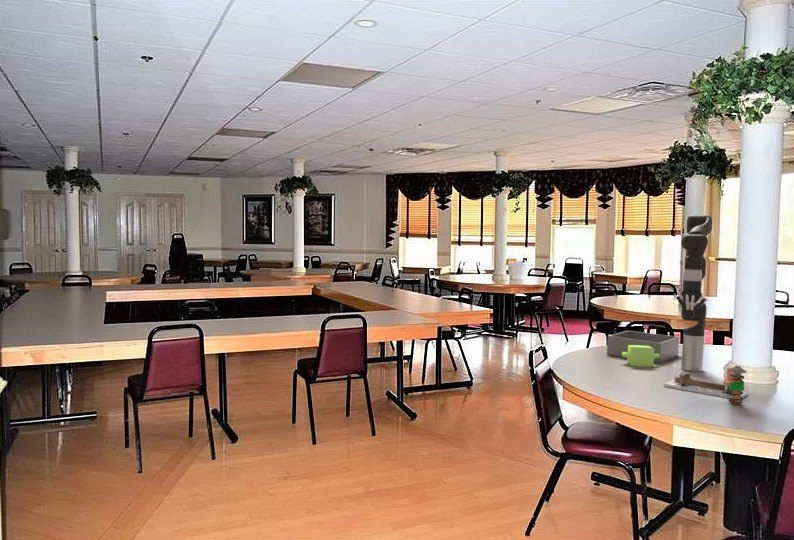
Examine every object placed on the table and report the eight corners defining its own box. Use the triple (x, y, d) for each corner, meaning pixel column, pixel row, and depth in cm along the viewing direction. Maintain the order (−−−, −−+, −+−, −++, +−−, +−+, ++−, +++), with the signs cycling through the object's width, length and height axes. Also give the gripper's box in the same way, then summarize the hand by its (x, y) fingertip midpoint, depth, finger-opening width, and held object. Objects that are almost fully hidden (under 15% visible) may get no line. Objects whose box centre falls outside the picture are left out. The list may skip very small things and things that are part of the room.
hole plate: (673, 381, 284) (673, 378, 284) (747, 395, 264) (747, 391, 264) (663, 386, 275) (663, 383, 275) (740, 400, 255) (740, 397, 255)
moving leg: (726, 388, 268) (727, 366, 268) (734, 389, 266) (735, 367, 266) (721, 391, 263) (722, 369, 262) (729, 392, 261) (730, 370, 260)
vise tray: (627, 347, 364) (628, 330, 364) (678, 355, 346) (679, 337, 345) (606, 354, 344) (607, 335, 343) (659, 362, 325) (660, 343, 324)
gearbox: (656, 363, 323) (657, 345, 323) (662, 367, 314) (663, 348, 313) (620, 361, 325) (621, 343, 325) (625, 366, 315) (626, 347, 315)
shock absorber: (728, 400, 255) (730, 363, 254) (746, 403, 251) (748, 366, 250) (724, 403, 250) (727, 366, 249) (742, 407, 246) (745, 368, 245)
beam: (676, 380, 282) (677, 370, 282) (741, 391, 265) (742, 381, 264) (671, 383, 276) (671, 373, 276) (736, 395, 259) (737, 384, 259)
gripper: (710, 280, 280) (708, 319, 282) (679, 277, 289) (677, 315, 290) (705, 281, 275) (703, 320, 276) (674, 278, 283) (671, 317, 285)
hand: (690, 318), depth 283 cm, fingers closed
